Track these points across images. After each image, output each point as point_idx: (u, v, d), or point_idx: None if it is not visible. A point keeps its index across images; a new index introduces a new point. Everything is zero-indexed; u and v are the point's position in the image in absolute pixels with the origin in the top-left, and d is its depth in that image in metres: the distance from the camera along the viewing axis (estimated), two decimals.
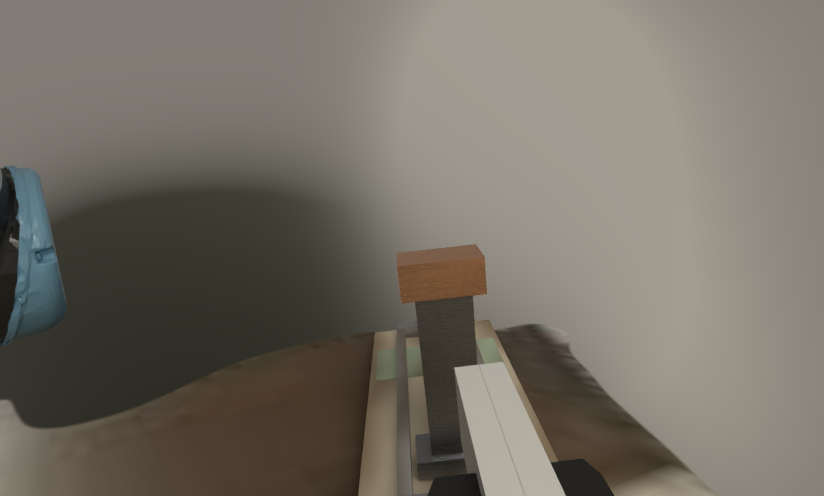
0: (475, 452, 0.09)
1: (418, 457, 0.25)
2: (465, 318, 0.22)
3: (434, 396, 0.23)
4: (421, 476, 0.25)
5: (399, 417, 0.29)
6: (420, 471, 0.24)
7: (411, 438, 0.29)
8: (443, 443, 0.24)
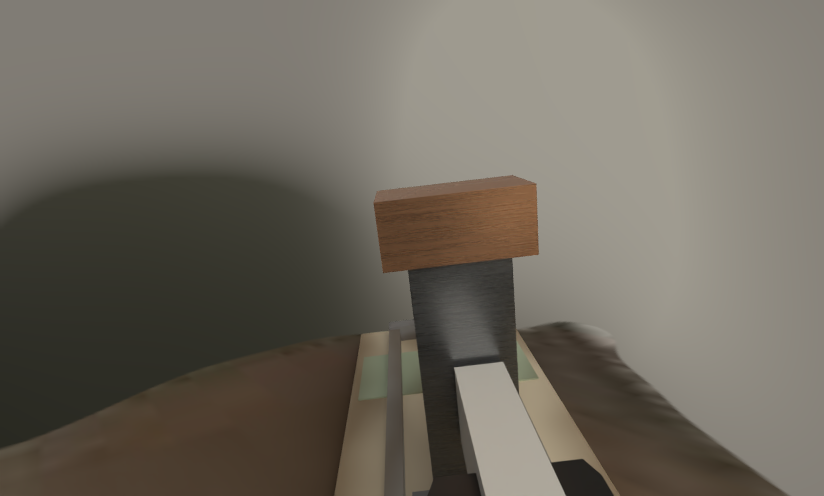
0: (475, 452, 0.09)
1: None
2: (499, 300, 0.12)
3: (443, 437, 0.14)
4: None
5: (388, 460, 0.19)
6: None
7: (406, 493, 0.19)
8: None
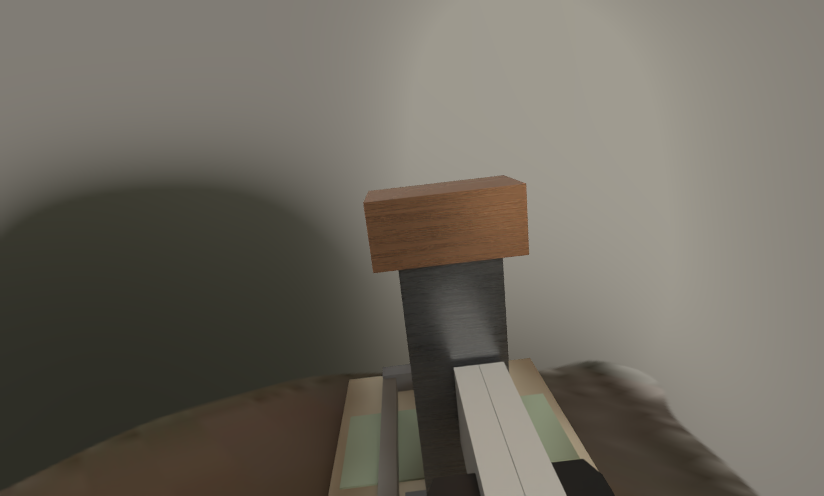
0: (474, 452, 0.09)
1: None
2: (489, 300, 0.12)
3: (435, 437, 0.14)
4: None
5: None
6: None
7: None
8: None
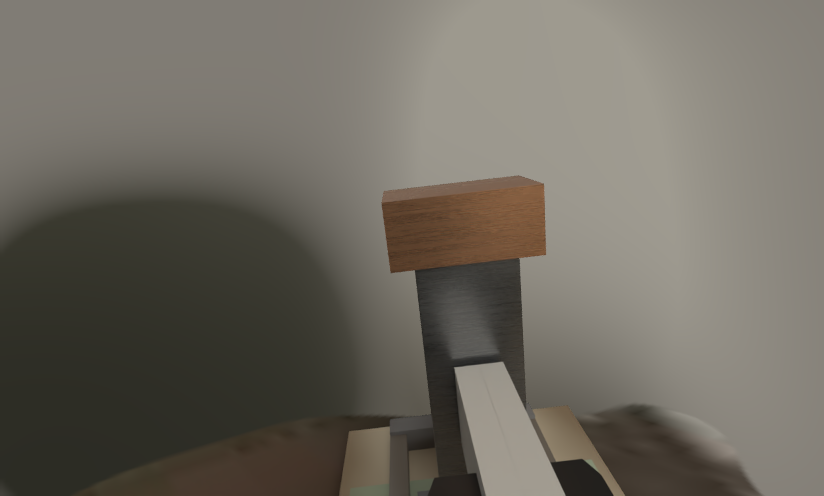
0: (475, 452, 0.09)
1: None
2: (506, 300, 0.12)
3: (450, 436, 0.14)
4: None
5: None
6: None
7: None
8: None
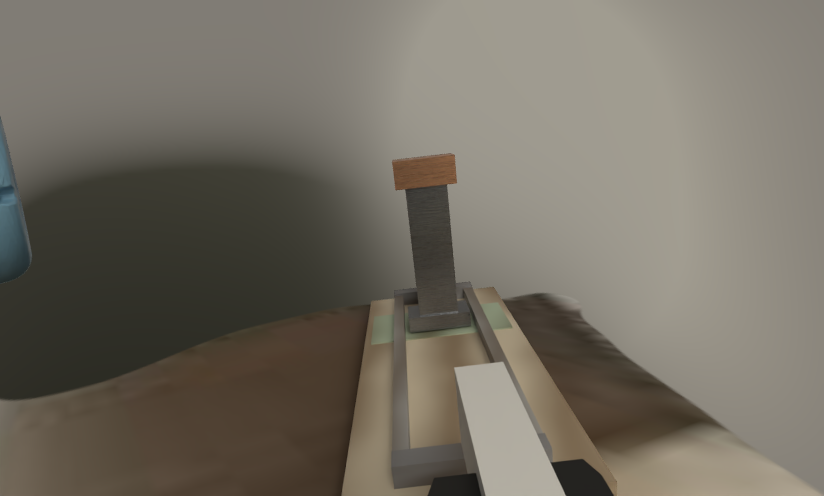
0: (475, 452, 0.09)
1: (409, 316, 0.33)
2: (442, 203, 0.31)
3: (420, 264, 0.32)
4: (412, 329, 0.33)
5: (395, 375, 0.26)
6: (411, 325, 0.33)
7: (408, 397, 0.26)
8: (428, 303, 0.33)
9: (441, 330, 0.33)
